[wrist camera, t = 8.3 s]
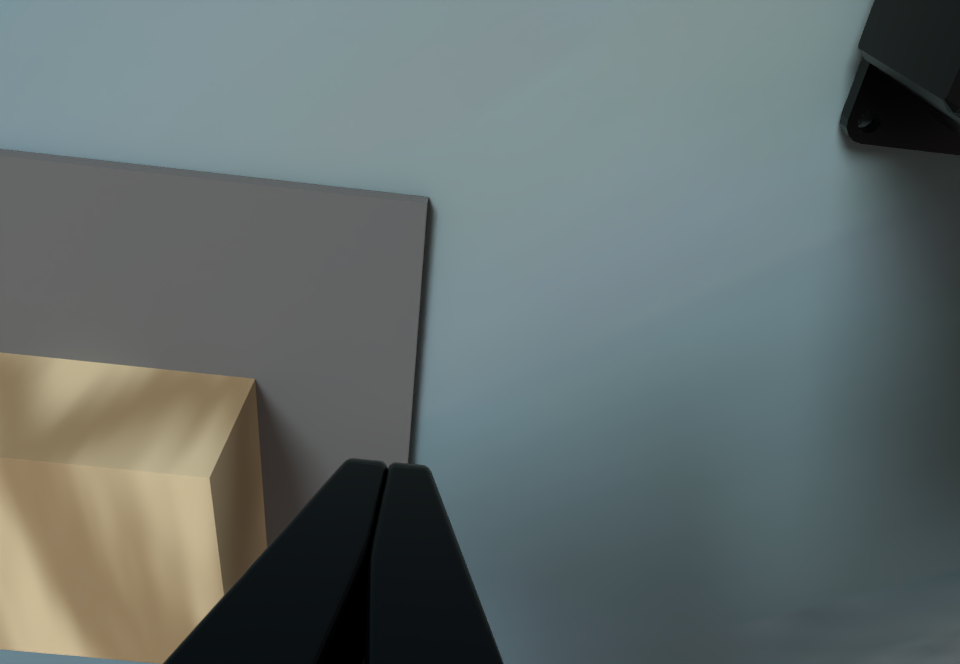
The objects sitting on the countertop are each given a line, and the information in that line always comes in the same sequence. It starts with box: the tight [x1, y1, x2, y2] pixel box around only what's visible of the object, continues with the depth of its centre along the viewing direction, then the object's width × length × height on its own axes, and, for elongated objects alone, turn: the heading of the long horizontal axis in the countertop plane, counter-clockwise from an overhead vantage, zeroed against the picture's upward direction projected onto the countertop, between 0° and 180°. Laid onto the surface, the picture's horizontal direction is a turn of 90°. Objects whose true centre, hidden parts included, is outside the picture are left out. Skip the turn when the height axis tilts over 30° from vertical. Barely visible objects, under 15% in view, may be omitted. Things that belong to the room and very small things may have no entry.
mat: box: [0, 149, 428, 547], centre depth 24 cm, size 15×20×1 cm
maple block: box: [0, 352, 267, 664], centre depth 22 cm, size 4×8×10 cm
